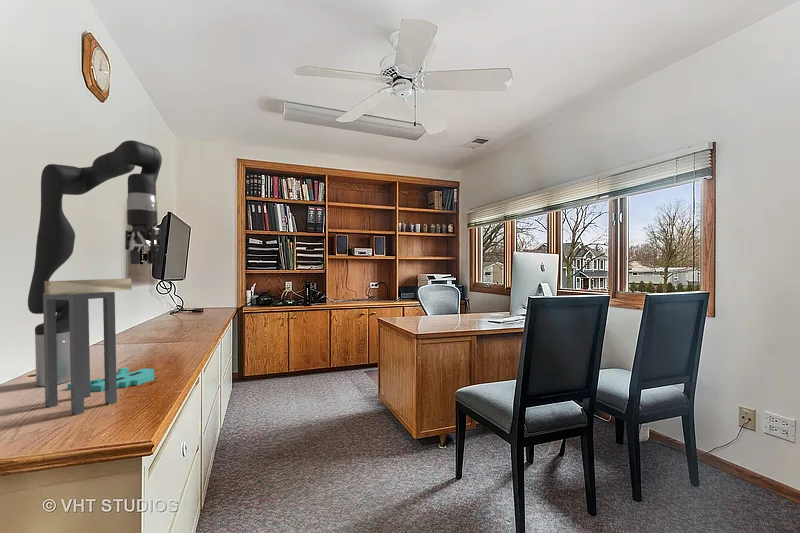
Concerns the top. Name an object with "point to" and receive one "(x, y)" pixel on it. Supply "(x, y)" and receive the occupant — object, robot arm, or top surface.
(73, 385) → the stand
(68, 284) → the block
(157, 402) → the top surface
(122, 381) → the alien figure
